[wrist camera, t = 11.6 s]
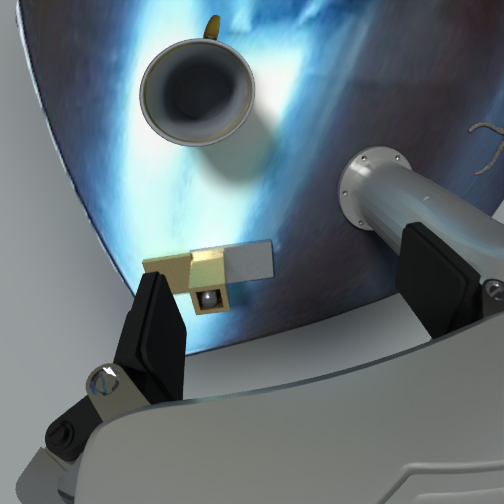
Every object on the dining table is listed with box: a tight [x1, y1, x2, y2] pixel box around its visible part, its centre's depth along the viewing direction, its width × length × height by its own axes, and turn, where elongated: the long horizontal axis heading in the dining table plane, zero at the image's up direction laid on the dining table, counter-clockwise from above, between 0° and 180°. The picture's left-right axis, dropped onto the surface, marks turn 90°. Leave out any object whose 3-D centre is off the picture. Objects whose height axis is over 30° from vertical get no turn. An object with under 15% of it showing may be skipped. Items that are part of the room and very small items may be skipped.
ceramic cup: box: [139, 15, 255, 147], centre depth 25 cm, size 13×10×10 cm
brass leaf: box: [142, 253, 230, 315], centre depth 38 cm, size 11×6×7 cm, turn 96°
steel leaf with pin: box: [190, 239, 273, 307], centre depth 39 cm, size 11×6×8 cm, turn 95°
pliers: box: [468, 122, 504, 175], centre depth 35 cm, size 10×1×20 cm
